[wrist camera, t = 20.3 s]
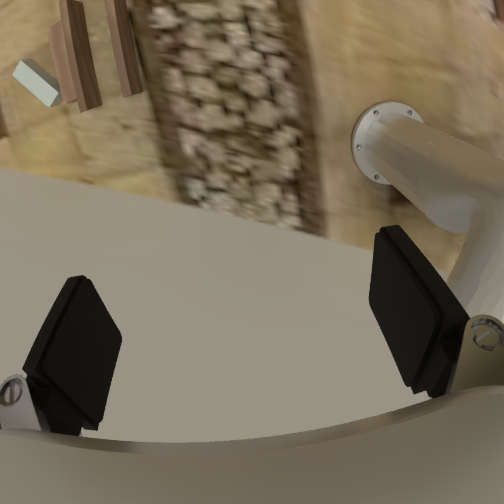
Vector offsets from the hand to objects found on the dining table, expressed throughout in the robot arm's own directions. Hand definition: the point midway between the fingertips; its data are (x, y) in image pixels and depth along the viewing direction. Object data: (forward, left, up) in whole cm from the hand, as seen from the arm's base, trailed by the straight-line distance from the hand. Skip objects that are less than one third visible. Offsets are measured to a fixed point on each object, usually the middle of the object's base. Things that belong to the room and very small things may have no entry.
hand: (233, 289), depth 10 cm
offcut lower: (+20, -14, -34) cm, 41 cm away
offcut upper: (+24, -14, -32) cm, 42 cm away
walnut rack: (+14, -14, -33) cm, 39 cm away
